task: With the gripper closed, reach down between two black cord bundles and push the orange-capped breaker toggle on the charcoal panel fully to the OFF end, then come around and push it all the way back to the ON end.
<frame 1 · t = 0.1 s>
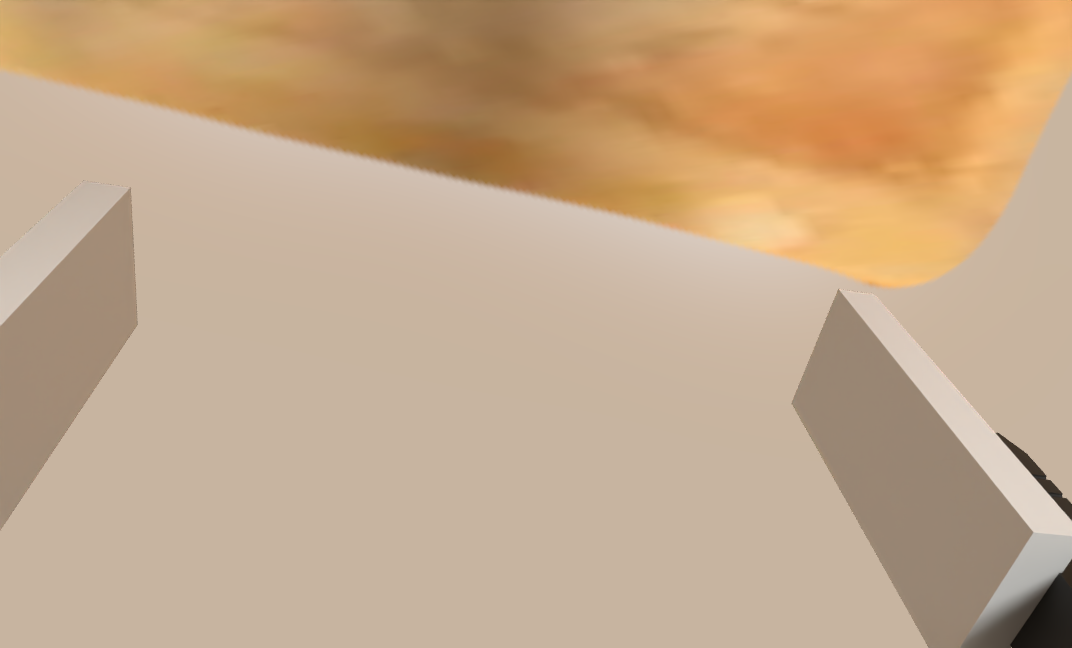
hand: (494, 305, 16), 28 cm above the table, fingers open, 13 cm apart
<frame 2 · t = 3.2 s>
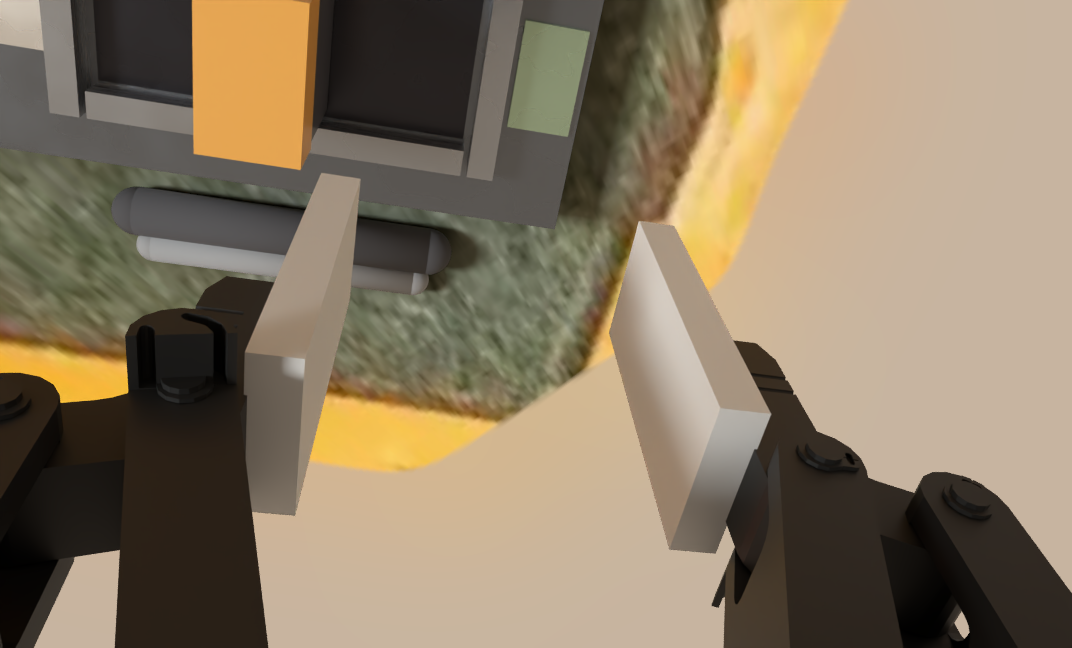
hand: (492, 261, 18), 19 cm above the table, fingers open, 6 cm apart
breaker lever: (271, 56, 28), point 6 cm above the table, slide at 5.0 cm
cord bundle 1: (291, 222, 37), on the table
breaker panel: (301, 21, 33), on the table
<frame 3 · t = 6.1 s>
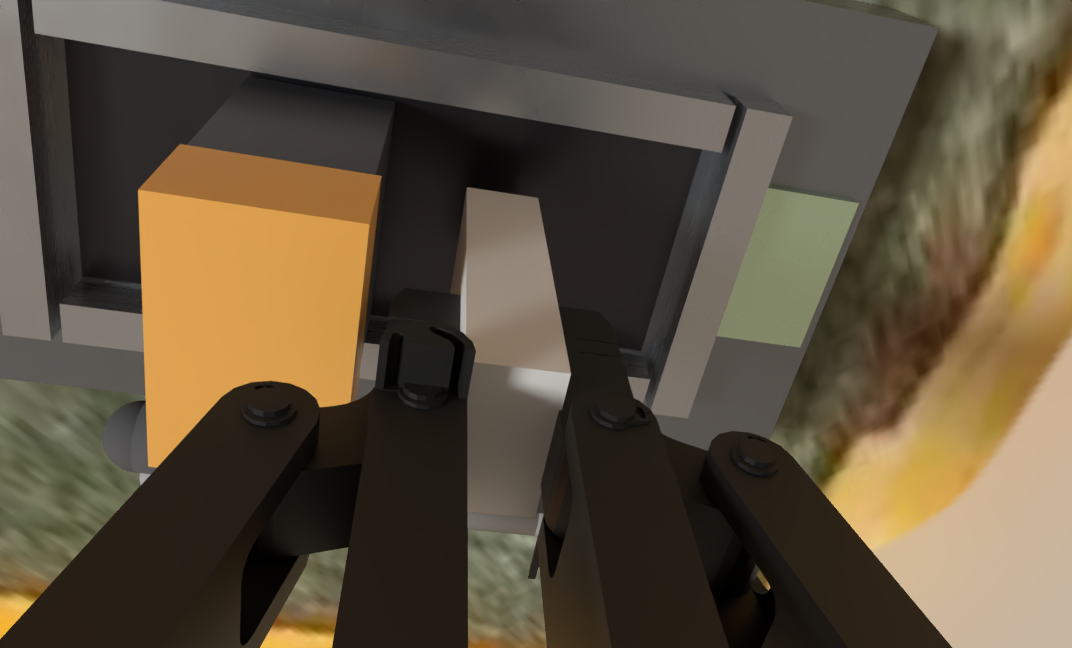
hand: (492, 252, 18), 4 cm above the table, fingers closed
breaker lever: (288, 264, 16), point 6 cm above the table, slide at 3.4 cm, touching gripper
cord bundle 1: (364, 438, 25), on the table
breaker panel: (396, 171, 21), on the table
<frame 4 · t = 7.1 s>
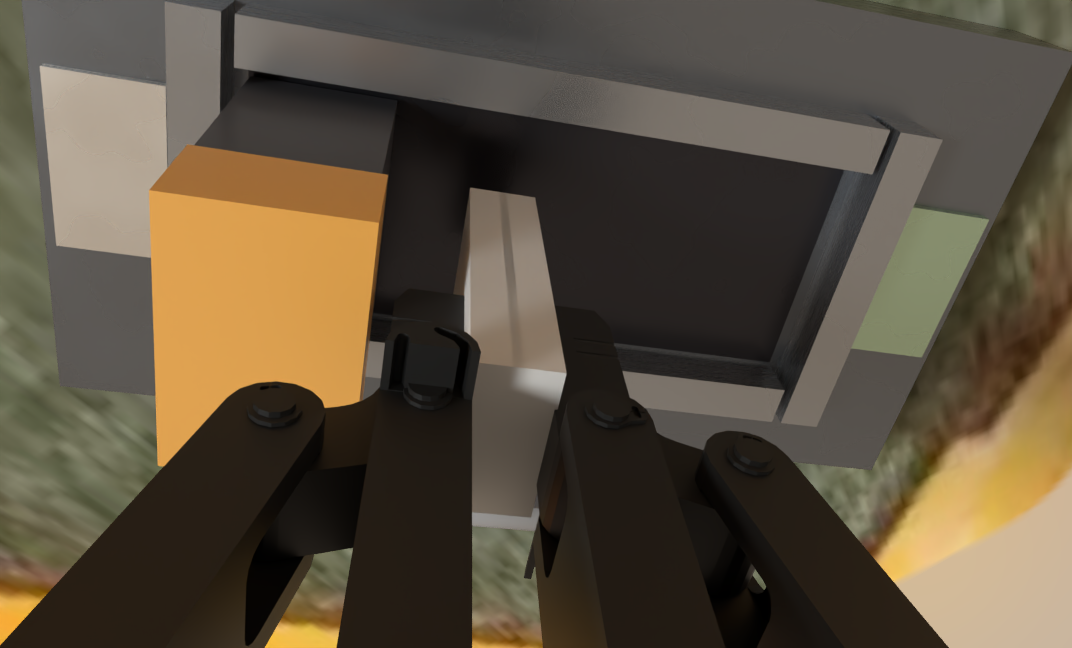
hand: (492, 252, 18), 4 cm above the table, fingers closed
breaker lever: (293, 263, 16), point 6 cm above the table, slide at -0.1 cm, touching gripper
cord bundle 1: (481, 447, 26), on the table
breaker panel: (533, 190, 22), on the table
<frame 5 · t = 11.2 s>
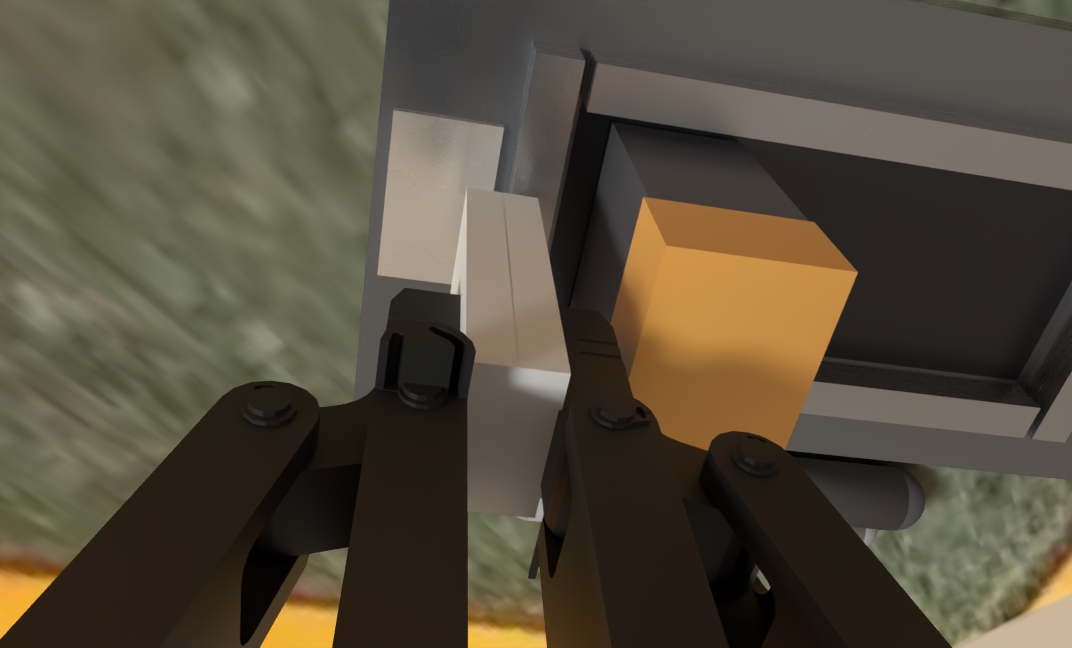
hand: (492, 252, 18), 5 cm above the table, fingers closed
breaker lever: (679, 299, 17), point 6 cm above the table, slide at 0.5 cm, touching gripper
cord bundle 1: (704, 460, 27), on the table
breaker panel: (791, 217, 23), on the table
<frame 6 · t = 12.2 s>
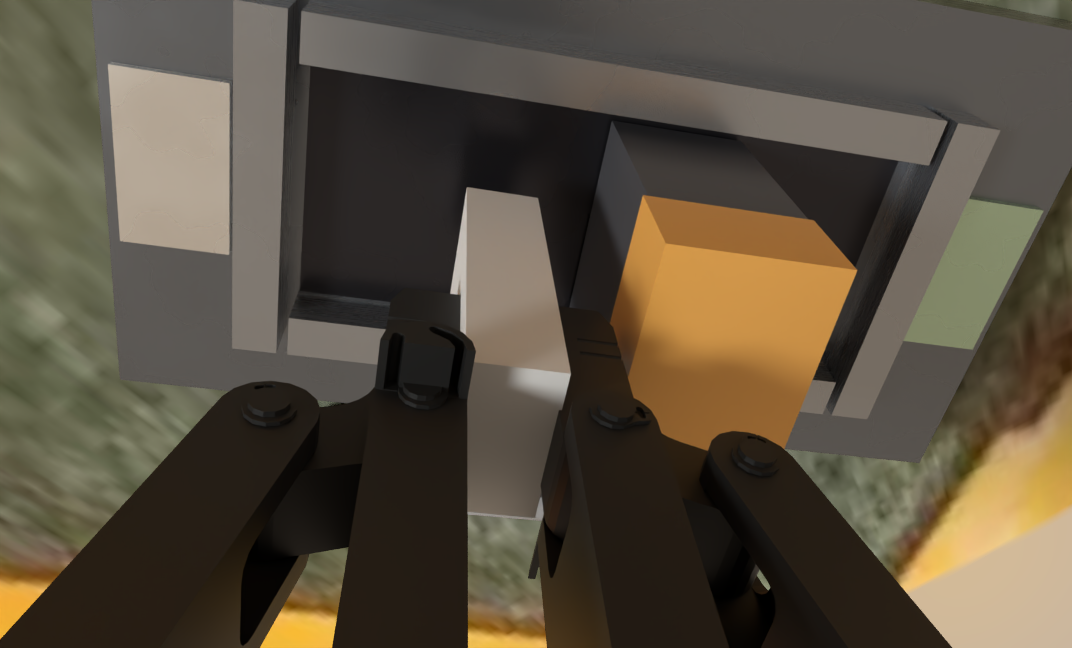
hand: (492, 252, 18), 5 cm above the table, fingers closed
breaker lever: (678, 297, 17), point 6 cm above the table, slide at 6.3 cm, touching gripper
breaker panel: (583, 184, 22), on the table
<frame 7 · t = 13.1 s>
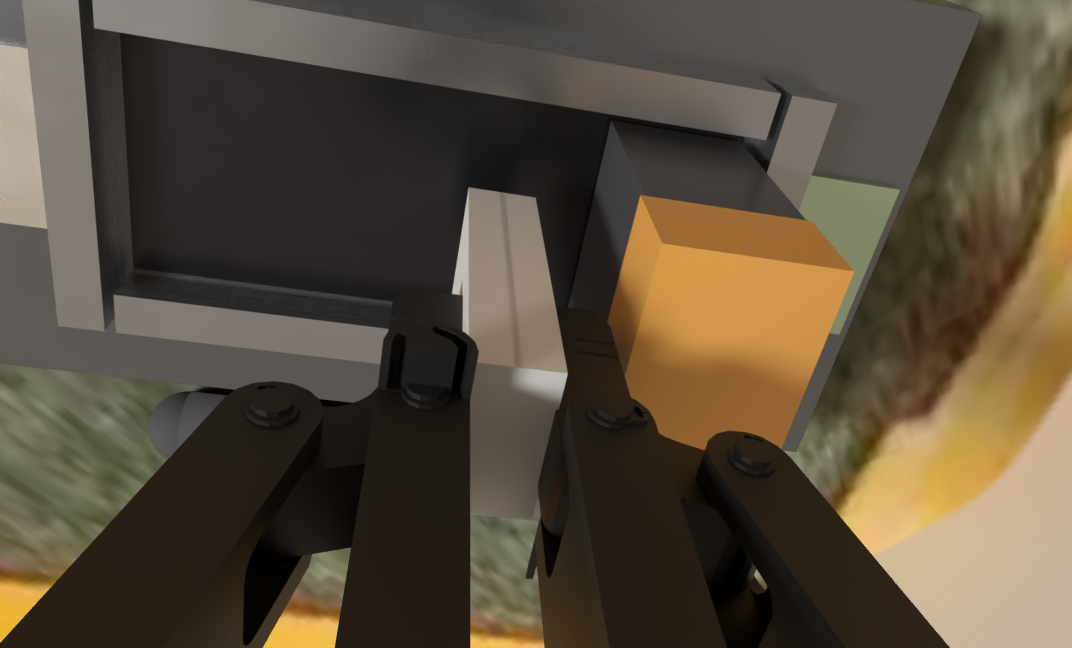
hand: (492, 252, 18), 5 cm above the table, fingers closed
breaker lever: (676, 298, 17), point 6 cm above the table, slide at 10.1 cm, touching gripper
cord bundle 1: (403, 428, 26), on the table
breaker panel: (438, 162, 22), on the table
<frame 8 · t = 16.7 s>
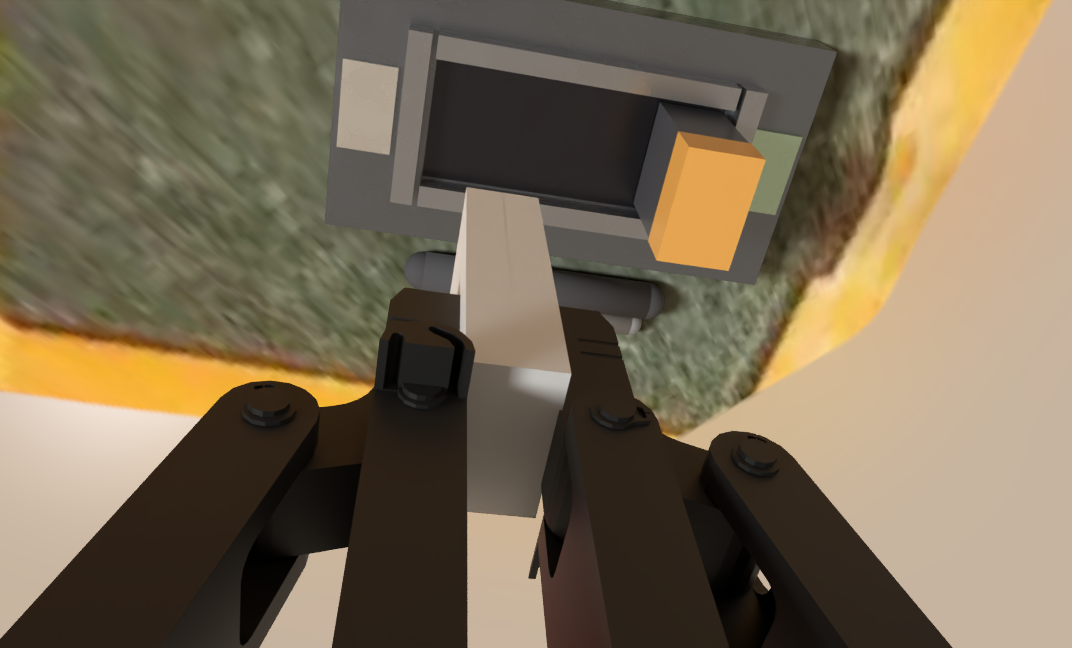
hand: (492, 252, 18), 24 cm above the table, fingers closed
breaker lever: (691, 183, 37), point 6 cm above the table, slide at 10.0 cm
cord bundle 1: (535, 277, 46), on the table
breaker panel: (567, 125, 42), on the table
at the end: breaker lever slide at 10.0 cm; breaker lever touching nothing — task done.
